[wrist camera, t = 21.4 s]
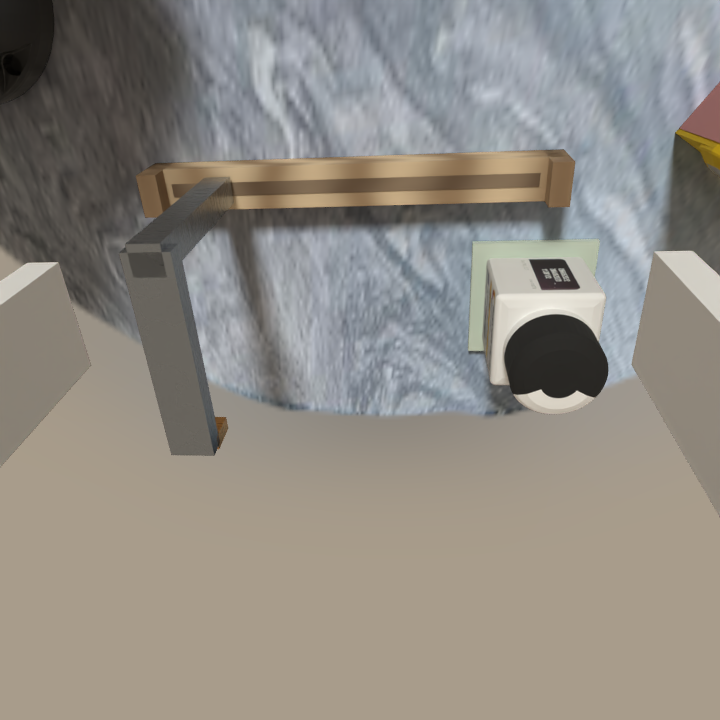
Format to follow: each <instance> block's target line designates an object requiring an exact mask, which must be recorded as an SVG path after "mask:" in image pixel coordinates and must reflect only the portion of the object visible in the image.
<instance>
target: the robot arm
mask: <svg viewBox="0 0 720 720" xmlns="http://www.w3.org/2000/svg"><path fill="white" fill-rule="evenodd" d="M53 32H54V18H53V6H52V0H0V104H2V103H6V102H8V101H11V100H13V99H15V98H17V97H19V96H20V95H22V94H23V93H25V92H26V91H27V90H28V89H29V88H30V87H32V86H33V84H34V83H35V82H36V81H37V80H38V78H39V77H40V75H41V73H42V72H43V70H44V68H45V66H46V63H47V61H48V58H49V55H50V51H51V47H52V41H53ZM90 366H91V363H90V360H89V357H88V354H87V351H86V348H85V344H84V341H83V338H82V335H81V332H80V329H79V325H78V323H77V319H76V316H75V313H74V309H73V306H72V303H71V300H70V297H69V294H68V290H67V287H66V284H65V281H64V278H63V275H62V271H61V268H60V265H59V262H44V263H26V264H25V265H23V266H22V267H20V268H19V269H17V270H16V271H14V272H13V273H11V274H10V275H8V276H7V277H6V278H4V279H3V280H1V281H0V467H1V466H2V465H3V464H4V463H5V462H6V460H7V459H8V458H9V457H10V456H11V455H12V453H14V451H15V450H16V449H17V448H18V447H19V446H20V445H21V444H22V442H23V441H24V440H25V439H26V438H27V437H28V436H29V435H30V433H31V432H32V431H33V430H34V429H35V428H36V427H37V426H38V424H39V423H40V422H41V421H42V420H43V419H44V418H45V417H46V415H47V414H48V413H49V412H50V411H51V410H52V409H53V407H54V406H55V405H56V404H57V403H58V402H59V401H60V400H61V399H62V397H63V396H64V395H65V394H66V393H67V392H68V391H69V390H70V388H71V387H72V386H73V385H74V384H75V383H76V382H77V380H78V379H79V378H80V377H81V376H82V375H83V374H84V373H85V372H86V370H87V369H88V368H89V367H90ZM632 366H633V368H634V370H635V372H636V373H637V375H638V377H639V379H640V380H641V382H642V384H643V385H644V387H645V389H646V391H647V392H648V394H649V396H650V398H651V399H652V401H653V403H654V404H655V406H656V408H657V410H658V411H659V413H660V415H661V417H662V418H663V420H664V422H665V423H666V425H667V427H668V429H669V430H670V432H671V434H672V436H673V437H674V439H675V441H676V442H677V444H678V446H679V448H680V449H681V451H682V453H683V455H684V456H685V458H686V460H687V461H688V463H689V465H690V467H691V468H692V470H693V472H694V474H695V475H696V477H697V479H698V480H699V482H700V484H701V485H702V487H703V489H704V491H705V493H706V494H707V496H708V498H709V499H710V501H711V503H712V505H713V506H714V508H715V510H716V511H717V513H718V514H719V517H720V276H719V275H718V274H717V273H716V272H715V271H714V270H713V269H712V268H711V267H710V266H709V265H707V264H706V263H705V262H704V261H703V260H702V259H701V258H700V257H699V256H698V255H697V254H696V253H694V252H693V251H654V255H653V260H652V265H651V270H650V275H649V280H648V285H647V290H646V295H645V300H644V305H643V310H642V315H641V320H640V325H639V330H638V335H637V340H636V345H635V350H634V355H633V360H632Z"/></svg>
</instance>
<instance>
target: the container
mask: <svg viewBox="0 0 720 720" xmlns="http://www.w3.org/2000/svg"><path fill="white" fill-rule="evenodd" d="M605 302H606V295H605V293H604V292H603V290H602V288H601V287H600V285H599V284H598V282H597V280H596V279H595V277H594V276H593V274H592V272H591V271H590V269H589V268H588V266H587V264H586V263H585V261H584V260H583V259H582V258H581V257H539V258H491V259H489V260H488V261H487V264H486V281H485V298H484V315H483V332H482V339H483V345H484V350H485V356H486V361H487V366H488V372H489V377H490V382H491V383H492V384H493V385H510V388H511V391H512V393H513V395H514V396H515V398H516V399H517V400H518V401H519V402H520V403H521V404H522V405H524V406H525V407H527V408H529V409H530V410H533V411H535V412H539V413H543V414H563V413H568V412H571V411H575V410H577V409H580V408H582V407H583V406H585V405H587V404H588V403H590V402H591V401H592V400H593V399H594V398H595V397H596V396H597V395H598V394H599V393H600V392H601V390H602V389H603V387H604V385H605V383H606V380H607V376H608V362H607V358H606V356H605V354H604V352H603V350H602V348H601V346H600V344H599V338H600V332H601V326H602V320H603V314H604V308H605Z"/></svg>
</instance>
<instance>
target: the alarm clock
mask: <svg viewBox="0 0 720 720" xmlns="http://www.w3.org/2000/svg"><path fill="white" fill-rule="evenodd" d="M675 133H676V134H677V135H679V136H680V137H681V138H682V139H684V140H685V141H686V142H688V143H689V144H690V145H691V146H693V147H694V148H695V149H697V150H698V151H699V152H700V153H701V154H702V157H703V160H704V162H705V164H706V165H707V167H708V168H709V169H711V170H712V171H713V172H714V173H715V174H716V175H717V176H718V177H720V82H719V83H718V85H717V86H716V87H715V88H714V89H713V90H712V91H711V93H710V94H709V95H708V96H707V97H706V98H705V99H704V101H703V102H702V103H701V104H700V105H699V106H698V107H697V109H696V110H695V111H694V112H693V113H692V114H691V115H690V117H689V118H688V119H687V120H686V121H685V122H684V123H683V125H682V126H681V127H680V128H679V130H677V131H676V132H675Z"/></svg>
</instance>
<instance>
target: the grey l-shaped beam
mask: <svg viewBox="0 0 720 720" xmlns="http://www.w3.org/2000/svg"><path fill="white" fill-rule="evenodd" d="M233 203H234V200H233V193H232V187H231V180H230V177H208V178H203V179H202V180H201V181H200V182H199V183H197V184H196V185H195V186H194V187H193V188H192V189H190V190H189V191H188V192H187V193H186V194H184V195H183V196H182V197H181V198H180V199H178V200H177V201H176V202H175V203H174V204H172V205H171V206H170V207H169V208H168V209H167V210H165V211H164V212H163V213H162V214H161V215H159V216H158V217H157V218H156V219H155V220H153V221H152V222H151V223H150V224H149V225H147V226H146V227H145V228H144V229H143V230H142V231H140V232H139V233H138V234H137V235H136V236H134V237H133V238H132V239H131V240H130V241H128V242H127V243H126V244H125V246H126V247H125V248H124V249H123V250H122V251H120V252H119V256H120V260H121V264H122V267H123V271H124V275H125V279H126V283H127V287H128V290H129V294H130V298H131V302H132V306H133V309H134V313H135V317H136V321H137V325H138V329H139V332H140V336H141V340H142V344H143V348H144V352H145V355H146V359H147V363H148V367H149V371H150V375H151V378H152V382H153V386H154V390H155V393H156V398H157V401H158V405H159V409H160V413H161V417H162V420H163V424H164V428H165V432H166V436H167V440H168V443H169V447H170V451H171V455H205V456H214V455H215V453H216V451H217V449H219V448H220V446H221V444H222V441H223V439H224V437H225V435H226V432H227V430H228V425H227V419H226V417H215V416H214V411H213V407H212V402H211V397H210V392H209V387H208V382H207V378H206V373H205V368H204V363H203V358H202V353H201V349H200V344H199V339H198V334H197V329H196V325H195V320H194V315H193V310H192V305H191V301H190V296H189V291H188V286H187V281H186V277H185V272H184V267H183V262H182V260H183V259H184V258H185V257H186V256H187V254H188V253H189V252H190V251H191V250H192V249H193V248H194V247H195V246H196V244H197V243H198V242H199V241H200V240H201V239H202V238H203V237H204V236H205V234H206V233H207V232H208V231H209V230H210V229H211V228H212V227H213V226H214V224H215V223H216V222H217V221H218V220H219V219H220V218H221V217H222V216H223V214H224V213H225V212H226V211H227V210H228V209H229V208H230V207H231V206H232V204H233Z"/></svg>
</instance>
